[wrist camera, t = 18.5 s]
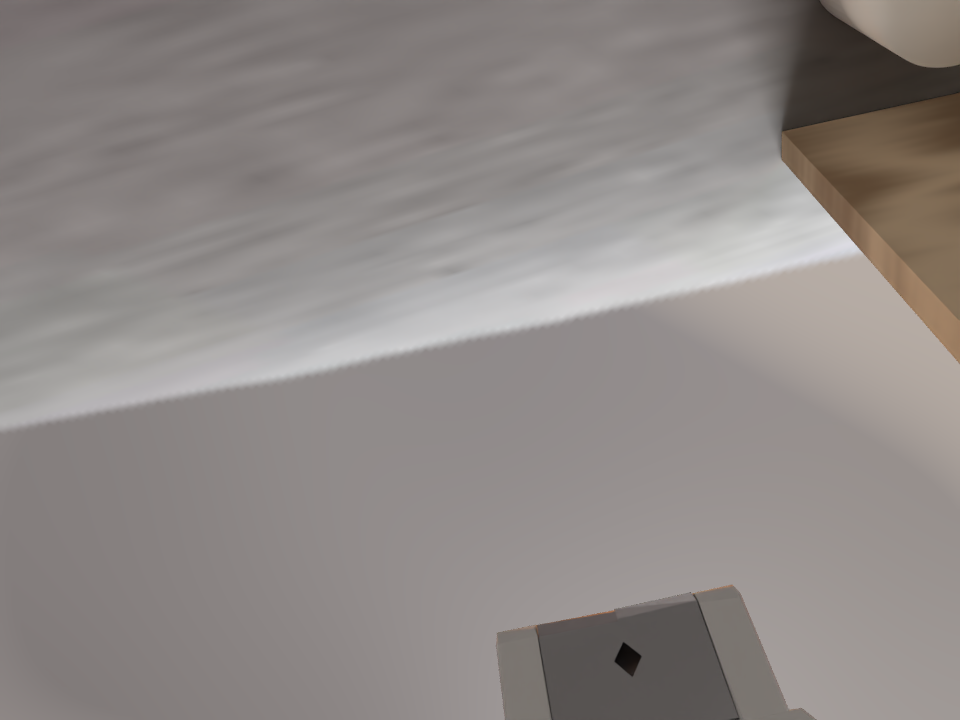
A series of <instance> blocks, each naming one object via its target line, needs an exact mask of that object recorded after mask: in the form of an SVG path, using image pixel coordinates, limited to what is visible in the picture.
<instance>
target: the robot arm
mask: <svg viewBox="0 0 960 720" xmlns="http://www.w3.org/2000/svg"><path fill="white" fill-rule="evenodd" d="M496 649H497V657H498V666H499V674H500V683H501V691H502V699H503V708H504V716H505V720H816V719H815V718H814V717H812V716H811V715H810V714H809V713H807V712H806V711H805V710H804V709H802V708H799V709H792V710H789V709H788V706H787V704H786V702H785V699H784V697H783V695H782V692H781V690H780V687H779V685H778V683H777V680H776V678H775V676H774V673H773V671H772V668H771V666H770V663H769V661H768V659H767V656H766V654H765V652H764V649H763V646H762V644H761V642H760V639H759V637H758V634H757V632H756V630H755V627H754V625H753V623H752V620H751V618H750V616H749V613H748V611H747V608H746V606H745V604H744V601H743V598H742V596H741V594H740V592H739V591H738V590H737V589H736V588H735V587H734V586H733V585H728V586H724V587H719V588H715V589H710V590H706V591H701V592H697V593H693V594H692V593H691V592H690V593H686V594H681V595H677V596H672V597H668V598H663V599H659V600H655V601H650V602H645V603H640V604H636V605H631V606H627V607H622V608H618V609H614V610H613V611H608V612H603V613H597V614H592V615H587V616H582V617H577V618H571V619H566V620H561V621H556V622H551V623H545V624H540V625H533V626H528V627H522V628H518V629H513V630H508V631H503V632H498V633H497V642H496Z"/></svg>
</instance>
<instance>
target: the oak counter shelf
mask: <svg viewBox="0 0 960 720" xmlns="http://www.w3.org/2000/svg"><path fill="white" fill-rule="evenodd" d="M782 161H783V162H784V163H785V164H786V165H787V166H788V167H789V169H790V170H791V171H792V172H793V173H794V174H795V175H796V177H797V178H798V179H799V180H800V181H801V182H802V183H803V185H804V186H805V187H806V188H807V189H808V190H809V192H810V193H811V194H812V195H813V196H814V197H815V198H816V200H817V201H818V202H819V203H820V204H821V205H822V206H823V208H824V209H825V210H826V211H827V212H828V213H829V214H830V216H831V217H832V218H833V219H834V220H835V221H836V222H837V224H838V225H839V226H840V227H841V228H842V229H843V230H844V232H845V233H846V234H847V235H848V236H849V237H850V239H851V240H852V241H853V242H854V243H855V244H856V245H857V247H858V248H859V249H860V250H861V251H862V252H863V253H864V255H865V256H866V257H867V258H868V259H869V260H870V261H871V263H872V264H873V265H874V266H875V267H876V268H877V269H878V271H879V272H880V273H881V274H882V275H883V276H884V278H885V279H886V280H887V281H888V282H889V283H890V284H891V285H892V287H893V288H894V289H895V290H896V291H897V292H898V293H899V295H900V296H901V297H902V298H903V299H904V300H905V302H906V303H907V304H908V305H909V306H910V307H911V308H912V310H913V311H914V312H915V313H916V314H917V315H918V316H919V317H920V319H921V320H922V321H923V322H924V323H925V324H926V326H927V327H928V328H929V329H930V330H931V331H932V333H933V334H934V335H935V336H936V337H937V338H938V339H939V341H940V342H941V343H942V344H943V345H944V346H945V347H946V349H947V350H948V351H949V352H950V353H951V354H952V355H953V356H954V358H955V359H956V360H957V361H958V362H959V364H960V93H956V94H952V95H947V96H942V97H938V98H933V99H929V100H924V101H919V102H915V103H910V104H906V105H901V106H897V107H892V108H887V109H883V110H878V111H874V112H869V113H865V114H860V115H855V116H851V117H846V118H842V119H837V120H833V121H828V122H823V123H819V124H814V125H810V126H805V127H801V128H796V129H791V130H787V131H782Z"/></svg>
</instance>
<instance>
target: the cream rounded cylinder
mask: <svg viewBox="0 0 960 720" xmlns="http://www.w3.org/2000/svg"><path fill="white" fill-rule="evenodd" d="M820 2H821V4H822V5H823V6H824V7H825V8H826V10H827V11H828V12H830V13H831V14H832V15H834V16H835V17H837V18H838V19H840V20H841V21H843V22H845V23H846V24H848V25H850V26H851V27H853V28H854V29H856V30H858V31H859V32H861V33H863V34H864V35H866V36H867V37H869V38H871V39H872V40H874V41H876V42H877V43H879V44H880V45H882V46H884V47H885V48H887V49H889V50H890V51H892V52H893V53H895V54H897V55H898V56H900V57H902V58H903V59H905V60H907V61H909V62H911V63H913V64H916V65H919V66H923V67H929V68H943V67H951V66H955V65H959V64H960V0H820Z"/></svg>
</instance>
